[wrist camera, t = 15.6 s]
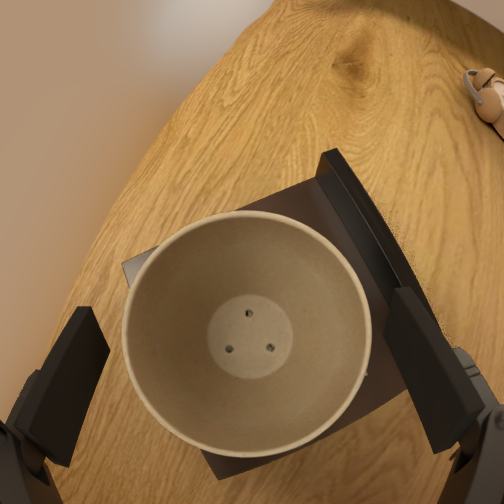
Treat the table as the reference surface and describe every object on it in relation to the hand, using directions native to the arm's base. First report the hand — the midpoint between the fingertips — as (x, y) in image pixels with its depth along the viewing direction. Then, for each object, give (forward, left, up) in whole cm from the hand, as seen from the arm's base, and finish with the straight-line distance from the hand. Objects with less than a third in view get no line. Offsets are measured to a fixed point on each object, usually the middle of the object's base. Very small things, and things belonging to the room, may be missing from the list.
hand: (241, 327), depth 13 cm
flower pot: (0, 0, -6) cm, 6 cm away
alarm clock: (+42, +9, -10) cm, 44 cm away
